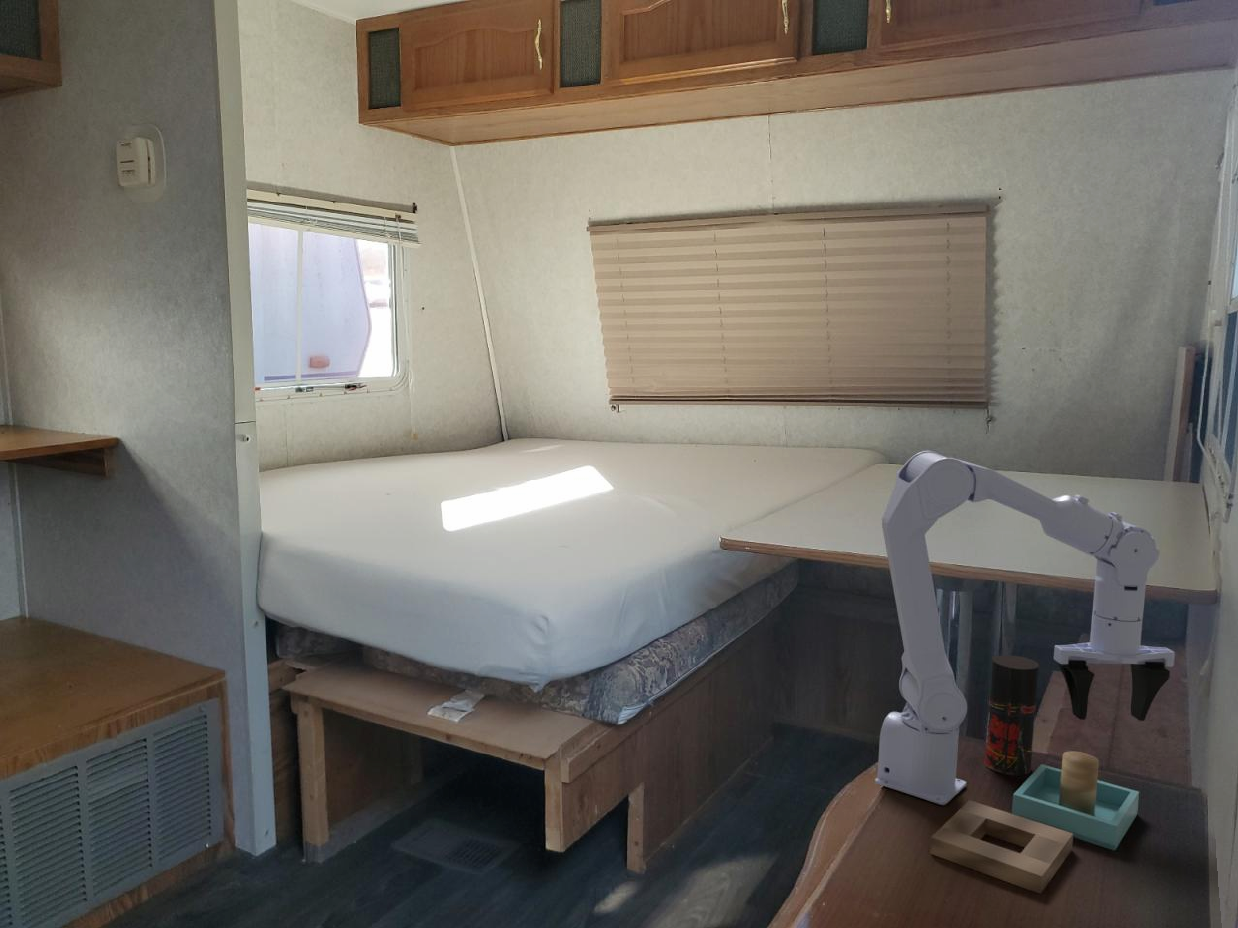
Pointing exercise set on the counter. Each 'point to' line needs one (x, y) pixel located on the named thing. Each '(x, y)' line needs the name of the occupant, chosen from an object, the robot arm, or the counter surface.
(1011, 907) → the counter surface
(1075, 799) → the dowel
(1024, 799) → the tray
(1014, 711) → the deodorant
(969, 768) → the counter surface
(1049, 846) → the socket block
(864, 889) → the counter surface
